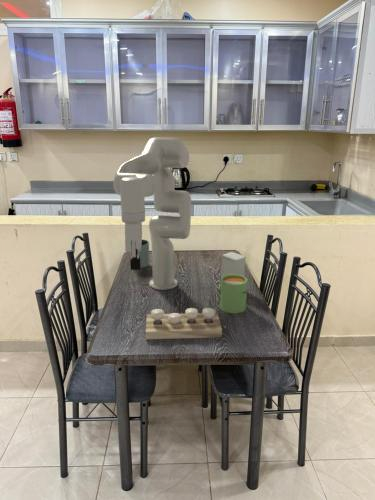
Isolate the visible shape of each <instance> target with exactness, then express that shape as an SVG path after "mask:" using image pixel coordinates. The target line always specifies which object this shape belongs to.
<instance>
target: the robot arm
mask: <svg viewBox="0 0 375 500" xmlns="http://www.w3.org/2000/svg"><path fill="white" fill-rule="evenodd" d="M189 153H190V152H189V150H188V148H187V146H186V145H185V143H184V142H183V141H182V139H180V138H178V137H162V136H161V137H159V136H157V137H152V138H149V140H148V141H147V142H146V143H145V145H144V148H143V149H142V152H141V153H140V155H138V156H135V157H133V158H132V159H130V160H128V161H125V162H124V163H122V164H121V165H120V166H119V168H118V170H117V171H116V173H115V174H114V179H113V181H112V182H113V190H114V192H115V193H116V194H117V195H119V196H120V212H121V213H120V214H121V222H122V223H124V245H125V246H124V247H125V248H124V251H125V253H126V254H128V253H130V258H129V260H130V264H129V265H130V271H140V270H141V268H140V267H141V266H140V257H139V256H140V254H139V252H140V250H141V244H142V240H143V232H142V231H143V223H144V222H145V221H146V206H145V205H146V203H145V200H146V199H145V198H147V197H151V196H153V207H154V210H155V211H156V212H159V213H167V214H168V213H171V214H178V216H177V215H175V216H174V215H154V216H152V217H151V218H150V219H149V222H148V229H149V235H150V240H151V263H152V265H151V269H152V279H149V280H150V281H149V283H148V284H149V287H150V288H152V289H154V290H159V291H168V290H172V289H175V288H176V287H177V286H178V283H179V282H178V280H177V279H176V278H175V252H174V251H175V250H174V244H173V242H172V241H171V239H173V240H174V239H176V240H184V239H185V240H186V239H187V238H189V236H190V232H191V221H192V220H191V219H192V196H191V194H190V192H188V191H187V190H177V189H175V184H176V183H175V182H176V179H175V176H174V174H173V173H172V171H171V170H170V169H171V168H172V169H173V168H174V169H175V168H176V169H183V168H186V167H187V166H188V164H189V161H190V154H189Z"/></svg>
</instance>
